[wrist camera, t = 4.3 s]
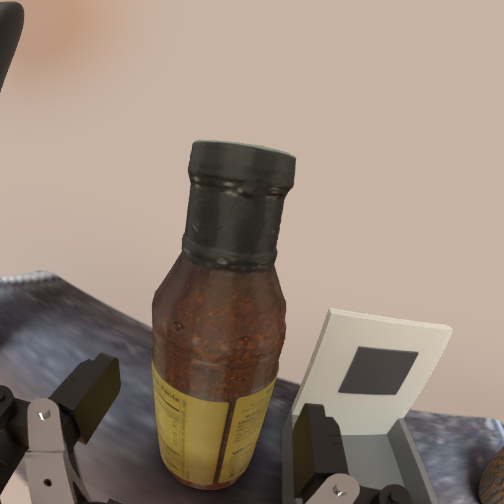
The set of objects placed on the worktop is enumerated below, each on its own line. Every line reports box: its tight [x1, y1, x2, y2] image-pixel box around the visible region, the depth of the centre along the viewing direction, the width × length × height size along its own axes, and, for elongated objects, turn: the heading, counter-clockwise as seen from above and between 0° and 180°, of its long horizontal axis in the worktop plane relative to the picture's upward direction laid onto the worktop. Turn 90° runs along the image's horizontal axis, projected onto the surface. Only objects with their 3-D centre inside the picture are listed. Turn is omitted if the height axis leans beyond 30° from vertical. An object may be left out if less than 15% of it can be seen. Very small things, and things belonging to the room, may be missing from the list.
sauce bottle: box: [151, 140, 296, 490], centre depth 13 cm, size 6×6×20 cm
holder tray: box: [282, 308, 453, 504], centre depth 13 cm, size 10×11×12 cm
